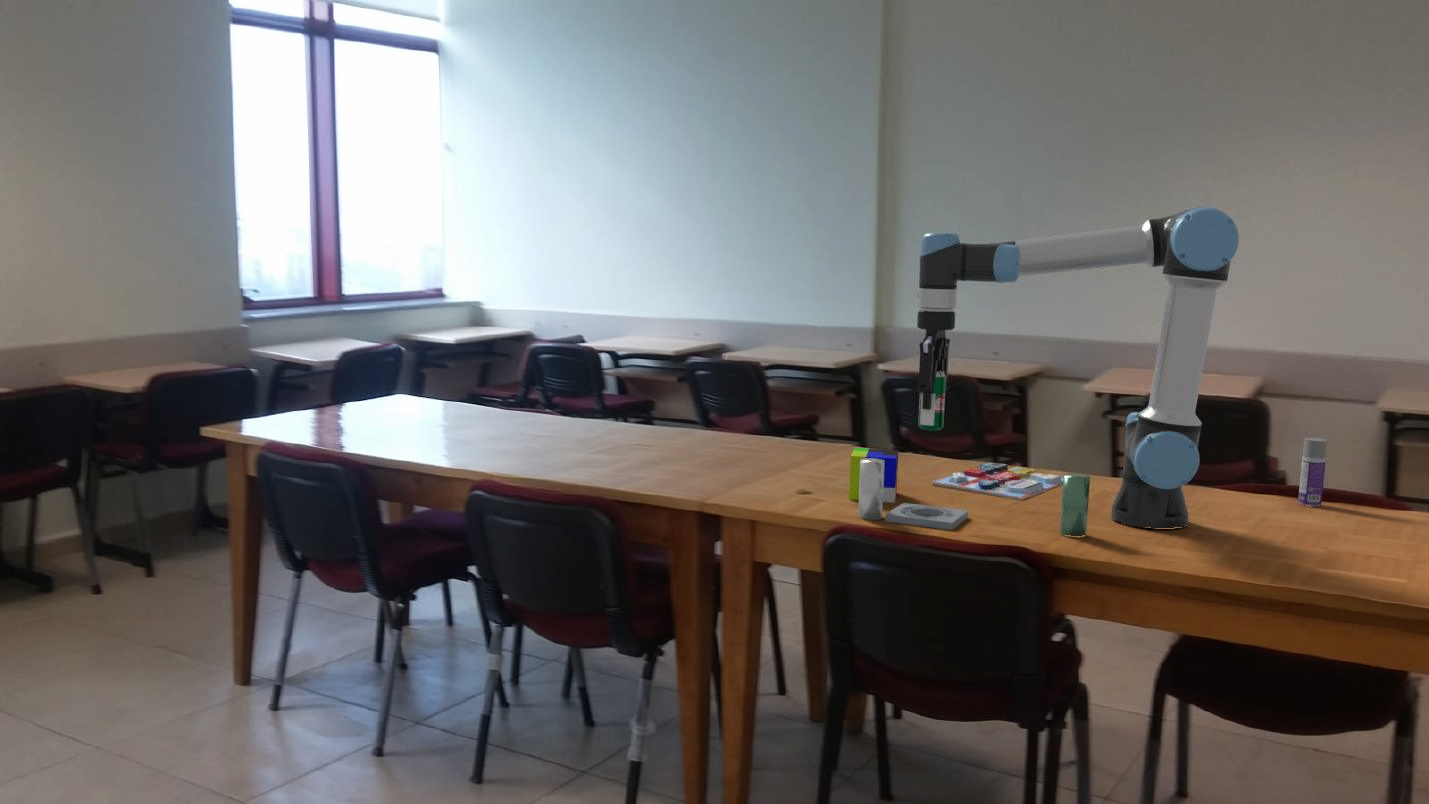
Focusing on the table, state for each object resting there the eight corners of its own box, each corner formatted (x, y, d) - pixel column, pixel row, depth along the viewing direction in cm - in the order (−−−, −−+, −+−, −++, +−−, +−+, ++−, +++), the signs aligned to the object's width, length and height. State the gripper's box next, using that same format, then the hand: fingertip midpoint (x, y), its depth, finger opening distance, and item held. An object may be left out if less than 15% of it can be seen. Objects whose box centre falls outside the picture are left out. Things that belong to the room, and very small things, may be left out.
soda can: (937, 431, 232) (940, 372, 230) (914, 429, 234) (917, 370, 233) (946, 428, 236) (949, 370, 234) (923, 425, 239) (926, 368, 237)
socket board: (967, 517, 240) (968, 510, 240) (951, 530, 229) (952, 522, 229) (903, 509, 246) (903, 502, 246) (885, 521, 236) (885, 514, 235)
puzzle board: (1022, 503, 257) (1022, 491, 257) (930, 488, 271) (931, 477, 271) (1074, 482, 281) (1074, 471, 280) (987, 469, 295) (988, 459, 295)
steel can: (885, 515, 240) (887, 459, 239) (877, 520, 236) (879, 463, 234) (862, 512, 243) (864, 457, 241) (854, 517, 238) (856, 461, 236)
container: (1323, 504, 258) (1330, 439, 256) (1317, 508, 255) (1324, 442, 252) (1301, 501, 261) (1307, 436, 259) (1295, 504, 258) (1301, 439, 256)
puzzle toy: (894, 502, 253) (896, 458, 251) (849, 500, 255) (850, 455, 253) (896, 493, 263) (898, 450, 261) (852, 490, 265) (854, 448, 263)
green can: (1088, 533, 228) (1092, 475, 227) (1083, 539, 224) (1087, 479, 222) (1062, 530, 231) (1066, 472, 229) (1057, 536, 226) (1061, 476, 225)
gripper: (931, 306, 241) (926, 415, 245) (905, 310, 225) (899, 427, 229) (966, 308, 238) (960, 418, 241) (942, 312, 222) (936, 430, 225)
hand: (931, 422), depth 235 cm, fingers closed on soda can, 5 cm apart
